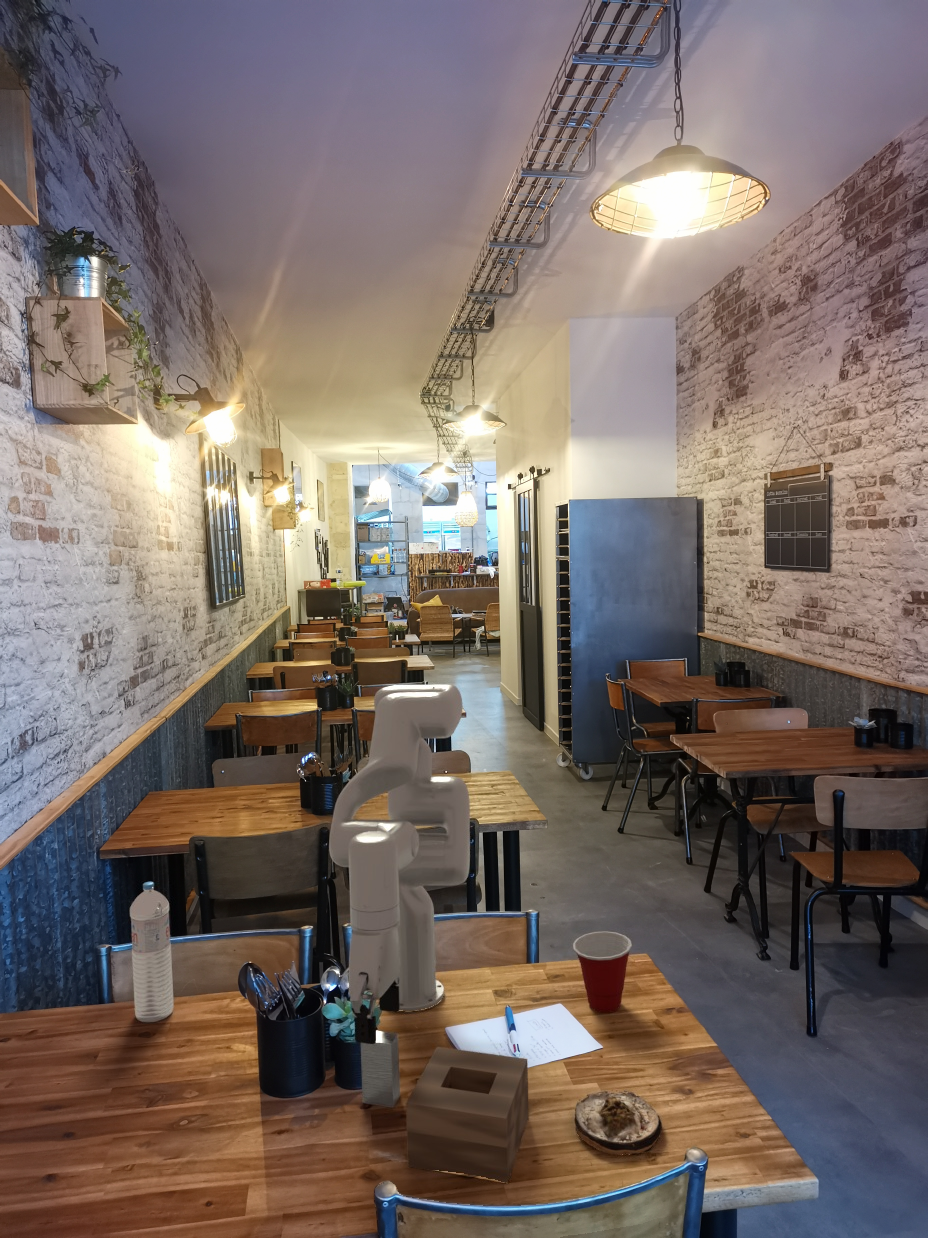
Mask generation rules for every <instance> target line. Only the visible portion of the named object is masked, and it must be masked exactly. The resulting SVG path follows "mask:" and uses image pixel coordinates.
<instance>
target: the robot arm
mask: <svg viewBox="0 0 928 1238" xmlns="http://www.w3.org/2000/svg"><path fill="white" fill-rule="evenodd" d="M373 699H374V700H373V705H374V707H373V708H374V712H375V715H374V721H373V722H374V723H373V728H372V736H371V742H370V749H369V757H368V763H367V764H366V765H365V766H364V767H363V768H362V769H361V770H359V771H358V772H357V773H356V774H355V775H354V776H353V777H352V778H351V779H350V780H349V781H348V783H347V784H346V785H345V786H344V787H343V789H342V790H341V792H340V794H338V797H337V799H336V802H335V805H334V808H333V816H332V821H331V826H330V832H329V841H328V842H329V843H328V848H329V849H328V851H329V855H330V858H331V860H332V861H333V863H335V864H336V865H337V866H339V867H342V868H348V874H349V875H348V877H349V879H348V880H349V915H350V916H349V917H350V920H349V921H350V923H349V924H350V928H351V930H352V931H351V937H350V943H349V955H348V956H349V958H348V996H349V998H350V1000H349V1001H350V1004H351V1011H352V1017H353V1019H354V1020H353V1021H354V1041H355V1042H356V1043H359V1044H361V1043H366V1044H375V1042H376V1031H377V1016H376V1015H374V1012H375V1008H376V1004H377V1003H376V1002H377V1000H378V1001H379V1010H380V1011H382V1012H389V1013H391V1012H392V1013H398V1011H399V1010H403V1011H415V1010H421V1009H425V1008H429V1007H431V1006H433V1005H435V1004H437V1003H438V1002H439V1001H440V1000H441V999H442V998H443V999H444V997H445V987H444V985H443V983H442V982H440V980H438V979H437V976H436V972H437V971H436V964H437V961H438V960H437V958H436V946H435V909H434V908H435V907H434V903H433V901H432V898H431V897H430V894H429V893H428V892H427V890H426V889H425V888H424V886H458V885H461V884H463V883H464V882H466V881H467V878H468V877H469V874H470V863H471V862H470V860H471V859H470V858H471V854H470V853H471V851H470V850H471V843H470V842H471V840H470V839H471V836H470V835H471V834H470V833H471V831H470V829H471V821H470V819H471V813H470V811H471V810H470V808H471V807H470V806H471V805H470V804H471V803H470V794H469V789H468V786H467V784H466V782H465V781H464V779H462V778H460V777H458V776H451V775H446V776H445V775H438V776H437V775H436V776H435V775H433V772H432V771H433V766H432V765H433V764H432V763H433V753H432V750H431V747H430V746H429V744H428V743H427V741H426V740H425V739H447V738H450V737H452V736H453V734H454V733H455V731H456V729H457V727H458V725H459V724H460V721H461V719H462V714H463V698H462V694H461V691H460V689H458V687H457V686H455V685H453V684H395V685H390V686H385V687H382V688H380V689H379V690H377V691H376V692H375V695H374V698H373ZM385 793H387V813H388V817H389V819H380V818H377V819H375V818H372V819H371V818H370V819H368V818H367V819H359V818H358V819H356V818H355V819H354V817H355V816H356V813H357V812H358V810H359V809H360V808H361V807H363V805H365V804H366V803H367V802H369V801H371V800H372V799H375V797H378V796H380V795H381V796H382V795H383V794H385ZM416 827H441V828H444V829H445V831H446V833H444V832H443V833H441V832H439V833H437V832H435V833H433V832H431V833H429V832H428V833H426V832H418V830H417V828H416ZM365 992H369V993H371V994H366V993H365ZM443 996H444V997H443ZM443 999H442V1000H443ZM442 1000H441V1001H442ZM364 1001H369V1004H368V1007H367V1006H366V1005H365V1004H364V1003H363V1002H364ZM438 1004H439V1003H438ZM438 1004H437V1005H438ZM435 1006H436V1005H435ZM429 1009H430V1008H429Z"/></svg>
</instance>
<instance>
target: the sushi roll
mask: <svg viewBox="0 0 928 1238" xmlns="http://www.w3.org/2000/svg"><path fill="white" fill-rule="evenodd" d="M611 1091H612V1092H611ZM611 1091H609V1092H608V1091H606V1090H603V1091H597V1092H593V1093H589V1094H586V1097H584V1098H583V1099H581V1100H580V1102H579V1101H578V1102H576V1107H575V1109H574V1111H575V1112H574V1114H573V1115H574V1124H575V1132H576V1131H577V1134H578V1135H579V1137H580V1138H581V1139H580V1140H582V1139H583V1141H584V1140H585V1141H586V1142H587V1143H586V1142H585V1141H584V1142H585V1143H586V1144H588V1145H589V1144H590V1145H589V1146H591V1147H592V1146H593V1147H592V1148H594V1147H595V1148H596V1149H595V1148H594V1149H595V1150H597V1149H598V1151H600V1150H601V1151H600V1152H603V1151H604V1153H606V1154H609V1153H610V1154H609V1155H613V1154H616V1155H615V1156H623V1155H626V1154H630V1155H636V1156H640V1155H643V1153H647V1152H650V1151H652V1149H653V1148H654V1146H656V1144H657V1143H658V1142H659V1140H660V1138H661V1137H660V1136H661V1134H662V1129H663V1124H662V1120H661V1118H660V1115H658V1114H657V1112H656V1110H655V1109H654V1108H653V1107H652V1106H651V1105H650V1104H649V1103H648V1102H647V1101H646V1100H645V1099H644V1098H643V1097H641V1096H640V1095H636V1094H635V1093H634V1092H633V1091H628V1090H626V1089H625V1090H623V1091H620V1092H618V1090H615V1092H616V1093H615V1092H614V1090H613V1089H612V1090H611ZM577 1134H576V1135H577ZM579 1137H578V1138H579ZM625 1153H626V1154H625ZM622 1154H623V1155H622ZM636 1156H635V1157H636Z"/></svg>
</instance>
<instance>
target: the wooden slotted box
mask: <svg viewBox="0 0 928 1238" xmlns="http://www.w3.org/2000/svg"><path fill="white" fill-rule="evenodd" d="M528 1065H529V1064H528V1058H522V1057H517V1056H509V1055H500V1054H495V1053H486V1052H479V1051H471V1050H464V1049H458V1048H447V1047H442V1046H437V1047H436V1048H435V1050H434V1051H433V1054H432V1055H431V1058H430V1059H429V1060H428V1063H427V1064H426V1067H425V1068H424V1070H423V1072H422V1073H421V1075H420V1077H419V1079H418V1081H417V1082H416V1084H415V1086H414V1088H413V1089H412V1092H410V1095H409V1097H408V1099H407V1101H406V1102H405V1112H406V1115H405V1116H406V1143H407V1144H406V1147H407V1167H410V1168H414V1169H415V1168H416V1169H420V1170H427V1171H431V1170H439V1171H448V1172H456V1173H464V1174H468V1175H476V1176H481V1177H486V1178H488V1179H495V1180H498V1181H501V1182H505V1183H506V1182H508V1180H509V1181H510V1179H509V1177H510V1178H511V1175H512V1172H513V1169H512V1168H514V1165H515V1163H516V1160H517V1157H518V1152H519V1150H520V1146H521V1143H522V1140H523V1138H524V1135H525V1131H526V1127H527V1125H528V1123H529V1122H528V1121H529V1119H530V1118H529V1117H530V1115H529V1111H530V1110H529V1109H530V1108H529V1106H530V1105H529V1076H528V1075H529V1072H528V1069H529V1067H528ZM514 1162H515V1163H514ZM511 1171H512V1172H511ZM510 1174H511V1175H510ZM508 1183H509V1182H508Z"/></svg>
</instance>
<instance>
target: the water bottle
mask: <svg viewBox="0 0 928 1238" xmlns="http://www.w3.org/2000/svg"><path fill="white" fill-rule="evenodd" d="M154 886H155V883H154V882H153V881H147V882H144V883H143V884H142V890H143V892H141V893H140V894H139V895H137V897H136V898H135V899H134V901H132V903H131V906H130V907H129V917H130V921H131V923H130V924H131V943H132V944H131V958H132V973H133V974H132V979H133V981H132V982H133V998H134V1001H133V1002H134V1013H135V1017H136V1019H137V1020H138V1021H140V1022H141V1023H155V1022H159V1021H162V1020H164V1019H166V1018H167V1017H169V1016H170V1015H171V1014H172V1013H173V1011H174V990H173V989H174V986H173V984H174V982H173V968H172V965H173V963H172V960H173V959H172V943H171V935H170V933H171V932H170V931H171V930H170V913H169V911H170V903H169V901H168V899H167V898H166V896H165V895H164V894H162V893H161V892H159V891H157V890H154V888H155V887H154Z"/></svg>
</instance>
